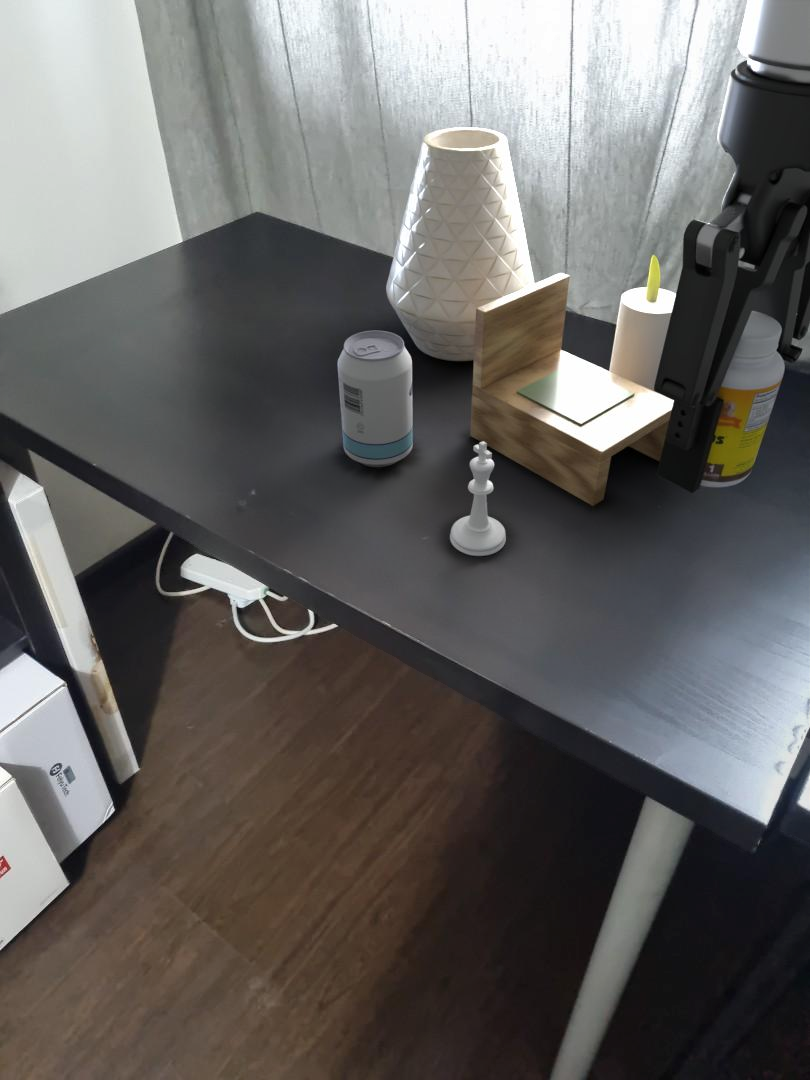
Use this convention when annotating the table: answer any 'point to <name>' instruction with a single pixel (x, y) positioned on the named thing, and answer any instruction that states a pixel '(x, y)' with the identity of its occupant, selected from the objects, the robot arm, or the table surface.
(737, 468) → the supplement bottle
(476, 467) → the chess piece
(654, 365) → the candle
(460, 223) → the vase
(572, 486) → the shelf
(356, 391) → the beverage can
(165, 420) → the table surface
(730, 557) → the table surface
